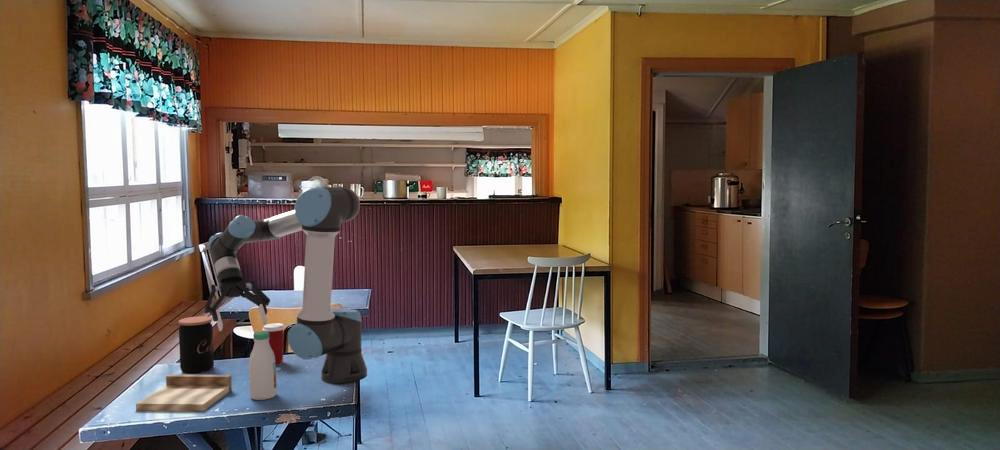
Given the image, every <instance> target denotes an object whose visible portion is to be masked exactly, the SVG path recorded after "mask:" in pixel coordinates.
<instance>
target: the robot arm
mask: <svg viewBox="0 0 1000 450" xmlns="http://www.w3.org/2000/svg"><path fill="white" fill-rule="evenodd" d="M360 209H361V203H360V198H359V196H358V194H357V193H356V192H355V191H354V190H352V189H351V188H349V187H345V186H315V187H310V188H306V189H304V190H303V191H302V192H300V194H299V195H298V197H297V198H296V201H295V204H294V209H293V210H290V211H287V212H283V213H280V214H277V215H274V216H271V217H268V218H263V219H255V220H254V219H252V218H251V217H249V216H247V215H246V216H245V215H244V214H239V215H237V216H235V217H234V218H233V219H232V221H230V222H229V224H228V225H227V227H226V228H225V229H224V231H222V232H218V233H215V234H214V235H212V236H211V237H210V238H209V239H208V245H209V252H210V254H211V255H210V256H211V259H212V262H213V266H214V269H215V273H216V276H217V282H218V285H216V284H211V285H210V289H209V290H210V291H209V297H208V299H207V301H206V304H205V307H204V311H203V312H204V313H205V314H208V313H209V314H210V316H211V318H212V321H213V322H216V324H217V327H218V331H219V332H222V331H223V328H224V324H223V319H222V317H221V313H220V309H219V308H220V306H221V305H222V304H223V303H224V301H225V300H226V299H227V298H230V299H232V298H238V297H239V298H240V297H242V298H244V299H246V300H248V301H250V302H252V303H253V304H255V305H256V306H257V307H258V309H257V310H258V312H259V315H260V319H261V322H262V325H263V326H264V325H267V322H268V318H267V314H268V308H267V307H268V306H269V304H270V302H271V299H270V297H268V296H267V295H266V294H265V293H264V292H263V291H262V290H261V289H260V288H259V287H258V286H257V285H256V283H255V281H254V280H251V281H250V282H247V283H246V282H245V281H244V278H243V274H242V270H241V267H240V263H239V260H238V257H237V252H238V251H239V250H240V248H241V247H243V245H244V244H249V243H257V242H265V241H267V242H268V241H276V240H280V239H281V238H282V237H284V236H287V235H291V234H293V233H297V232H298V233H299V232H301V231H302V232H303V233H304V234H305V235H306V238H305V254H304V255H305V256H304V270H303V271H304V272H303V274H304V275H303V291H302V309H301V310H300V311H299V312H297V314H296V324H293V325H292V326H291V328H290V329H288V333H287V341H288V345H289V347H290V349H291V351H292V352H293V354H294V355H295V356H297V357H298V358H300V359H302V360H311V359H317V358H319V357H321V356H323V355H325V358H324V362H323V365H322V369H321V373H320V375H321V376H320V377H321V380H322V381H323V382H326V383H329V384H330V383H331V384H349V383H354V382H358V381H361V380H363V379H365V378H366V377H367V376H368V368H367V365H366V361H365V359H364V356H363V352H362V315H361V313H360V311H359V310H357V309H352V308H351V309H350V308H332V306H331V305H332V304H331V303H332V292H333V291H332V289H333V273H334V269H333V268H334V258H335V255H334V254H335V244H336V243H335V240H336V236H337V235H338V234H339V233H340V232H341V225H342V223H348V222H349V221H352V220H353V219H355V217H357V215H358V214H359V212H360ZM247 288H248V289H247ZM249 290H250V291H249ZM218 291H219V292H221V295H220V296H219V298H218V299H217V300H216V301H215V303H214V304H213V305H212V303H213V300H214V298H215V294H217V293H218ZM211 305H212V306H211Z"/></svg>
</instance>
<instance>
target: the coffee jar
mask: <svg viewBox="0 0 1000 450" xmlns="http://www.w3.org/2000/svg"><path fill="white" fill-rule="evenodd" d="M212 321H213V318H212V316H206V315H205V316H204V315H203V316H202V315H201V316H190V317H185V318H182V319H179V320H178V324H179V327H178V341H179V342H178V343H179V364H180V365H179V367H180V370H181V372H182V373H183V374H185V375H199V374H204V373H207V372H210V371H211V370H212V369H213V367H214V365H215V363H214V361H215V359H214V357H215V356H214V355H215V354H214V334H213V332H214V331H213V324H212Z"/></svg>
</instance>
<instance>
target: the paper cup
mask: <svg viewBox="0 0 1000 450" xmlns="http://www.w3.org/2000/svg"><path fill="white" fill-rule="evenodd" d="M285 328H286V327H285V326H284V324H283V323H279V322H277V323H275V322H274V323H266V325H263V327H262V331H266V332H269V344H270V347H271V349H272V351H273V353H274V356H275V363H276V366H277V364H279V365H281V364H280V363H282V362H284V343H285V341H284V338H285V335H284V334H285ZM282 364H283V363H282Z"/></svg>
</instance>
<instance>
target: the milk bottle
mask: <svg viewBox="0 0 1000 450" xmlns="http://www.w3.org/2000/svg"><path fill="white" fill-rule="evenodd" d="M253 341H254V344H253V347H252V350H251V352H250V356H249V360H248V374H249V377H248V378H249V379H248V380H249V396H250V399H252V400H255V401H263V400H265V401H266V400H270V399H272V398H274V397H276V396H277V369H276V368H277V365H276V363H275V356H274V353H273V351H272V349H271V347H270V344H269V332H266V331H263V330H262V331H256V332H254V333H253Z"/></svg>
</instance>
